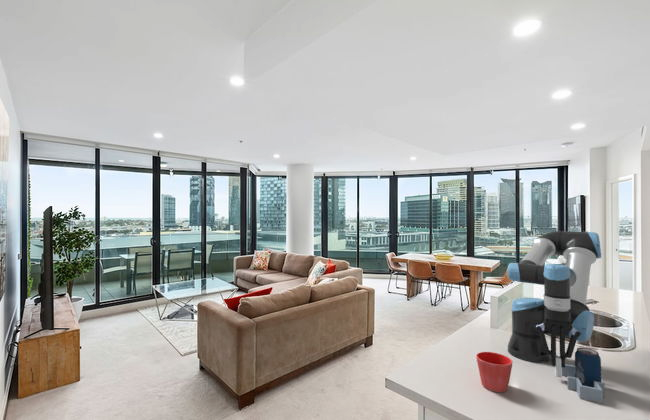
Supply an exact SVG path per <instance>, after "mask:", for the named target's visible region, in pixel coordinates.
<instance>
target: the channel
mask: <svg viewBox="0 0 650 420" xmlns="http://www.w3.org/2000/svg"><path fill="white" fill-rule="evenodd" d="M561 375H562V376H563V377H567V389H568V390H570V391H575V392H576V394H577V396H578V397H579V399H580V400H584V401H589V402H593V403H594V402H595V403H599V404H604V401H603V400H604V398H603V397H605V383H604V382H602V381H601V382H596V381H594V388H593V387H588V386H582V384H581V382H580V380H579V378H575V365H571V364H567V363H565V368H563V367H561Z"/></svg>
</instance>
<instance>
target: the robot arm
mask: <svg viewBox="0 0 650 420" xmlns="http://www.w3.org/2000/svg"><path fill="white" fill-rule="evenodd" d="M553 256H563V258H564V259H565V260H566V261H565V264H557V263H548V264H546V262H547V261H548V259H549V258H550V257H553ZM597 259H602V249H601V242H600V235H599V234H598V233H597V232H595V231H570V230H569V231H566V230H565V231H564V230H553V231H550V232H546V233H544V234H542V235H539V236H538V237H536V238H535V239H534V240H533V241H532V244H531V248H530V249H529V250H528V251H527V253H526V254H525V255H524V256H523V257H522V259H521V260H520V261H519V262H510V263H509V264H508V266H507V270H506V271H507V278H508V279H509V280H510V281H512V282H517V283H523V284H524V283H527V284H533V285H541V286H543V287H544V288H543V290H544V293H543V294H544V299H542V298H538V297H519V298H515V299H513V301H512V302H511V330H512V331H511V335H510V338H509V341H508V344H507V352H508V353H509V354H510V355H512V357H515V358H517V359H520V360H523V361H528V362H534V363H546V362H549V361H551V362H550V363H551V365H552V366H553V367H554V374H555V377H557V378H562V369H561V367H563V368H565V364H566V359H567V358H568V359H571V358H572V356H573V353H574V349H575V346H576V343H577V342H588V341H589V340H590V339H591V337H592V334H593V331H594V324H595V315H594V312H592V311H590V307H589V306H588V305H587V297H588V290H589V289H588V288H589V283H590V274H591V266H592V265H593V264H594V263H596V261H597ZM544 264H545V265H544ZM546 334H547V335H549V336H550V349H549V345H548V341H547V338H546ZM557 337H558V338H559V341H558V342H559V355H557ZM566 339H568V340H569V341H568V345H567V348H566Z"/></svg>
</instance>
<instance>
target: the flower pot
mask: <svg viewBox="0 0 650 420" xmlns="http://www.w3.org/2000/svg"><path fill="white" fill-rule="evenodd" d="M475 356H476V362H477V368H478V372H479V377H480V382H481V385H482V387H483V388H484V389H487V390H489V391H491V392H495V393H505V392H507V391H508V388H509V384H510V380H511V374H512V368H513V360H512V358H510V357H508V356H506V355H505V354H501V353H497V352H493V351H482V352H481V351H480V352H478V353H477V354H476V355H475Z"/></svg>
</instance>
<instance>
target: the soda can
mask: <svg viewBox="0 0 650 420" xmlns="http://www.w3.org/2000/svg"><path fill="white" fill-rule="evenodd" d="M574 366H575V378H579V380H580V382H581V384H582V386H588V387H593V388H594V381H596V382H602V358H601V356H600V354H599V352H598V351H596V350H595V349H592V348H588V347H577V348H576V351H575V352H574Z"/></svg>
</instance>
